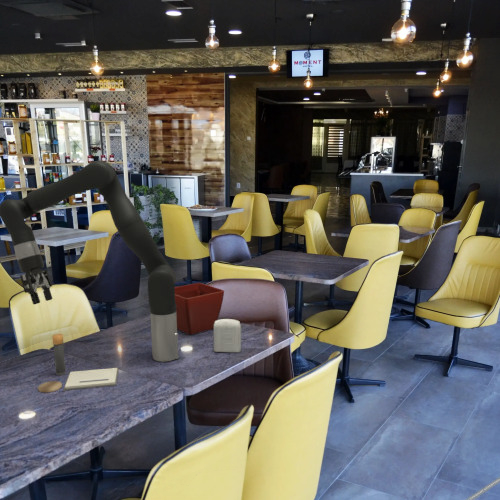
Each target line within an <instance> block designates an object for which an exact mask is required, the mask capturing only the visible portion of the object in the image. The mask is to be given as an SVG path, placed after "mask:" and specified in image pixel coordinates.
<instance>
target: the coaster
mask: <svg viewBox="0 0 500 500" xmlns="http://www.w3.org/2000/svg"><path fill="white" fill-rule="evenodd" d="M62 387H63V384H62V382H61V381H57V380H54V381H53V380H52V381H51V380H50V381H46V382H43V383H41V384H40V385H39V386H38V388H37V389H38V392H40V393H44V394H45V393H47V394H49V393H53V392H56V391H58V390H61V388H62Z"/></svg>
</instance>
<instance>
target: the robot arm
mask: <svg viewBox="0 0 500 500" xmlns="http://www.w3.org/2000/svg"><path fill="white" fill-rule="evenodd" d="M95 189H96V190H98V192H99V193H100V194H101V196H102V198H103V199H104V200H105V202H106V204H107V206H108V209H109V213H110V215H111V219H112V221H113V223H114V228H116V230H117V232H118V234H119V235H120V237H121V239H122V240H123V242H124V243H125V245H126V246H127V247H128V248H129V249H130V250H131V251H132V252H133V253H134V254H135V255H136V257H138V258H139V260H140V262H141V263H142V264H143V265H144V268H145V269H146V271H147V274H148V276H149V277H148V279H147V296H148V297H147V298H148V305H149V312H150V329H151V333H150V334H151V354H152V359H153V360H154V361H155V362H162V363H163V362H171V361H174V360H178V359H179V333H178V329H177V312H176V302H175V287H176V286H175V285H176V282H177V276H176V272H175V271H174V269H173V268H172V266H171V265H170V264H169V263H168V261H167V260H166V258H164V255H163V254H162V253H161V251H160V250H159V248H158V245H157V244H156V242H155V240H154V238H153V236H152V234H151V232H150V231H149V228H148V226H147V225H146V224H145V222H144V220H143V218H142V216H141V214H140V213H139V211H138V210H137V208H136V207H135V206H134V204H133V203H132V202H131V200H130V198H129V196H128V195H127V194H126V192H125V190H124V189H123V185H122V184H121V182H120V180H119V177H118V176H117V173H116V171H115V169H114V167H113V166H112V165H111V163H109V162H107V161H104V160H96V161H90V162H89V163H88V164H87V165H85V166H83V167H82V168H80V169H79V170H77V171H76V172H74V173H73V174H71V175H68V176H67V177H64V178H62V179H59V180H57V181H54V182H52V183H49V184H46V185H43V186H41V187H39V188H36V189H34V190H32V191H30V192H28V193H27V194H26V196H25V197H23V198H21V199H11V198H10V199H9V198H8V199H5V200H3V201H2V202H1V203H0V218H1V220H2V221H1V222H2V224H3V225H4V226H5V228H6V230H7V231H8V233H9V235H10V239H11V242H12V244H13V249H14V253H15V257H16V260H17V263H18V267H19V269H20V272H21V273H23V274H22V275H20V282H21V284H22V287H23V292H24V293H25V294H26V293H27V294H29V296H30V298H31V303H32V304H33V305H37V304H40V303H41V300H40V297H39V294H38V292H37V291H38V287H40V289H41V290H42V293H43V297H44V298H45V299H44V300H45V301H50V300H51V301H52V300H53V296H52V293H51V288H52V287H53V283H52V281H51V280H52V279H51V278H50V274H49V271H48V270H47V269H46V270H42V268H44V267H45V263H44V261H43V257H42V254H41V251H40V248H39V246H38V245H39V244H38V243H37V241H36V238H35V235H34V231H33V229H32V227H31V226H30V225H28V224H27V223H26V221H25V220H27V219H28V218H30V217H32V216H34V215H36V214H37V213H39V212H40V211H43V210H46V209H49V208H51V207H53V206H55V205H57V204H60V203H61V202H63V201H65V200H67V199H70V198H71V197H73V196H76V195H78V194H80V193H83V192H87V191H92V190H95Z"/></svg>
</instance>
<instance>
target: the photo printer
mask: <svg viewBox="0 0 500 500" xmlns="http://www.w3.org/2000/svg"><path fill="white" fill-rule="evenodd" d="M240 323H241V322H240V321H239V320H237V319H234V318H233V319H231V318H223V319H222V318H221V319H218V320H217V321H215V324H214V329H213V351H214V352H216V353H241V351H242V326H241V324H240Z"/></svg>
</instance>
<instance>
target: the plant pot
mask: <svg viewBox="0 0 500 500" xmlns="http://www.w3.org/2000/svg"><path fill="white" fill-rule="evenodd" d="M224 295H225V290H224V289H221V288H217V287H215V286H211V285H208V284H205V283H201V282H197V283H196V282H195V283H190V284H186V285H180V286H175V302H176V312H177V330H179V331H181V332H183V333H185V334H187V335H194V334H199V333H203V332H206V331H209V330H214V324H215V321H217V320H219V316H220V313H221V309H222V306H223V301H224Z"/></svg>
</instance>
